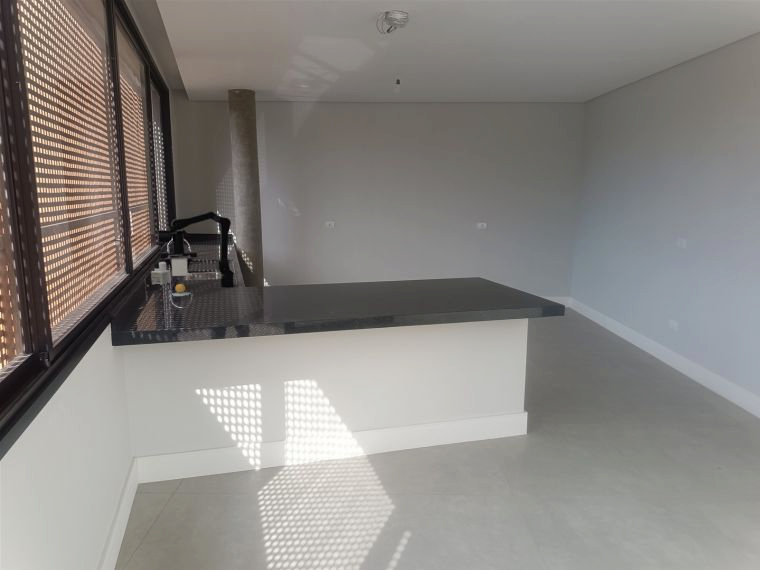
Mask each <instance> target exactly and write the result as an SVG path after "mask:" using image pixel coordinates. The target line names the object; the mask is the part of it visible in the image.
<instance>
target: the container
mask: <svg viewBox="0 0 760 570" xmlns="http://www.w3.org/2000/svg"><path fill="white" fill-rule="evenodd" d="M153 266H154V270H151V272H150V278H151V284H152V285H155V284H160V285H159V286H164V285H163V284H165V285H168V284H167V283H169V284H171V283H172V278H171V277H172V276H171V275H172V273H171V269H169V270H168V269H167V261H166V262H165V261H156V262H154V263H153Z"/></svg>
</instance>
